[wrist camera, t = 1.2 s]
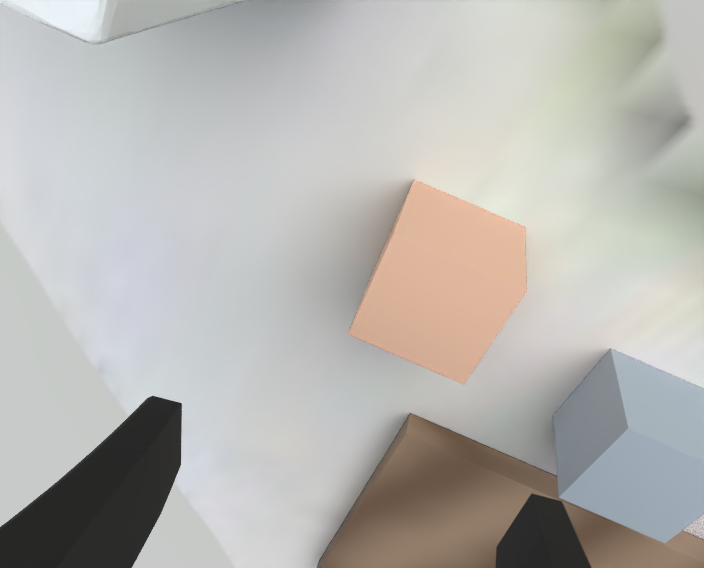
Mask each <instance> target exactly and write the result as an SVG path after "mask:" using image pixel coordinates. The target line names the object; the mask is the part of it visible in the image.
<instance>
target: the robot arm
mask: <svg viewBox="0 0 704 568" xmlns="http://www.w3.org/2000/svg"><path fill="white" fill-rule="evenodd" d="M181 417H182V403H178V402H175V401H171V400H167V399H163V398H159V397H155V396H151V397H149V398H147V399H146V400H145V401H144V402H143V403H142V404H141V405H140V406H139V407H138V408H137V409H136V410H135V411H134V412H133V413H132V414H131V415H130V416H129V417H128V418H127V419H126V420H125V421H124V422H123V423H122V424H121V425H120V426H119V427H118V428H117V429H116V430H115V431H114V432H113V433H112V434H111V435H109V436H108V437H107V438H106V439H105V440H104V441H103V442H102V443H101V444H100V445H99V446H98V447H96V448H95V449H94V450H93V451H92V452H91V453H90V454H89V455H87V456H86V457H85V458H84V459H83V460H82V461H81V462H79V463H78V464H77V465H76V466H75V467H74V468H73V469H71V471H69V472H68V473H67V474H66V475H65V476H63V477H62V478H61V479H60V480H59V481H58V482H57V483H55V484H54V485H53V486H52V487H50V488H49V489H48V490H47V491H45V492H44V493H43V494H42V495H40V496H39V497H38V498H37V499H36V500H34V501H33V502H32V503H30V504H29V505H28V506H27V507H26V508H24V509H23V510H22V511H20V512H19V513H18V514H17V515H15V516H14V517H13V518H12V519H10V520H9V521H8V522H7V523H5V524H4V525H2V526H1V527H0V568H132V566H133V564H134V562H135V561H136V559H137V557H138V555H139V553H140V551H141V549H142V547H143V546H144V544H145V542H146V540H147V538H148V537H149V534H150V533H151V531H152V529H153V527H154V525H155V523H156V522H157V520H158V518H159V516H160V514H161V512H162V509H163V507H164V504H165V502H166V500H167V497H168V495H169V493H170V490H171V488H172V485H173V483H174V480H175V478H176V476H177V473H178V471H179V468H180V466H181ZM496 568H592V567H591V565H590V563H589V560H588V558H587V556H586V554H585V552H584V549H583V547H582V545H581V543H580V540H579V538H578V536H577V534H576V531H575V529H574V527H573V524H572V522H571V520H570V518H569V515H568V513H567V511H566V509H565V506H564V504H563V503H562V501H559V500H555V499H551V498H547V497H544V496H540V495H536V494H532V493H531V495H530V496H529V498H528V499H527V501H526V502H525V504H524V505H523V507H522V509H521V510H520V512H519V513H518V515H517V516H516V518H515V519H514V521H513V522H512V524H511V525H510V527H509V528H508V530H507V531H506V533H505V535H504V536H503V538H502V539H501V541H500V542H499V544H498V545H497V548H496Z"/></svg>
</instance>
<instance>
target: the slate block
mask: <svg viewBox="0 0 704 568" xmlns="http://www.w3.org/2000/svg"><path fill="white" fill-rule="evenodd" d="M553 427H554V440H555V453H556V467H557V480H558V493H559V498H561V499H564V500H566V501H568V502H571V503H573V504H575V505H577V506H580V507H582V508H584V509H587V510H589V511H591V512H594V513H596V514H598V515H601V516H603V517H605V518H607V519H610V520H612V521H614V522H617V523H619V524H621V525H624V526H626V527H628V528H631V529H633V530H635V531H637V532H640V533H642V534H644V535H647V536H649V537H651V538H654V539H656V540H658V541H661V542H663V543H666V542H667V541H669V540H670V539H671V538H673V537H674V536H675V535H677V534H678V533H679V532H681V531H682V530H683V529H685V528H686V527H687V526H689V525H690V524H691V523H693V522H694V521H695V520H697V519H698V518H699V517H701V516H702V515H703V514H704V388H702V387H699V386H697V385H695V384H692V383H690V382H688V381H686V380H683V379H681V378H679V377H676V376H674V375H672V374H669V373H667V372H665V371H662V370H660V369H658V368H655V367H653V366H651V365H648V364H646V363H644V362H641V361H639V360H637V359H634V358H632V357H630V356H628V355H625V354H623V353H621V352H618V351H616V350H614V349H610V350H609V351H608V352H607V353H606V355H605V356H604V357H603V358H602V359H601V360H600V361H599V363H598V364H597V365H596V366H595V367H594V368H593V370H592V371H591V372H590V373H589V374H588V375H587V377H586V378H585V379H584V380H583V381H582V382H581V384H580V385H579V386H578V387H577V388H576V389H575V391H574V392H573V393H572V394H571V395H570V396H569V397H568V399H567V400H566V401H565V402H564V403H563V404H562V406H561V407H560V408H559V409H558V410H557V411H556V413H555V414H554V415H553Z"/></svg>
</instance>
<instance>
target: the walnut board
mask: <svg viewBox="0 0 704 568" xmlns="http://www.w3.org/2000/svg"><path fill="white" fill-rule="evenodd" d="M531 493H532V494H536V495H540V496H544V497H547V498H551V499H555V500H559V501H562V503H563V504H564V506H565V509H566V511H567V513H568V515H569V518H570V520H571V522H572V524H573V527H574V529H575V531H576V534H577V536H578V538H579V540H580V543H581V545H582V547H583V549H584V552H585V554H586V556H587V558H588V560H589V563H590V565H591V567H592V568H704V540H703V539H700V538H698V537H696V536H693V535H691V534H689V533H686V532H684V531H681V532H679V533H678V534H677V535H675V536H674V537H673V538H671V539H670V540H669V541H667V542H666V543H663V542H661V541H658V540H656V539H654V538H651V537H649V536H647V535H644V534H642V533H640V532H637V531H635V530H633V529H631V528H628V527H626V526H624V525H621V524H619V523H617V522H614V521H612V520H610V519H607V518H605V517H603V516H601V515H598V514H596V513H594V512H591V511H589V510H587V509H584V508H582V507H580V506H577V505H575V504H573V503H571V502H568V501H566V500H564V499H561V498H559V493H558V480H557V476H554V475H552V474H550V473H547V472H545V471H543V470H541V469H538V468H536V467H534V466H531V465H529V464H527V463H524V462H522V461H520V460H517V459H515V458H513V457H510V456H508V455H506V454H503V453H501V452H499V451H497V450H494V449H492V448H490V447H487V446H485V445H483V444H480V443H478V442H476V441H473V440H471V439H469V438H466V437H464V436H462V435H459V434H457V433H455V432H453V431H450V430H448V429H446V428H443V427H441V426H439V425H436V424H434V423H432V422H429V421H427V420H425V419H422V418H420V417H418V416H415V415H413V414H411V413H410V415H409V416H408V418H407V420H406V421H405V423H404V424H403V426H402V428H401V429H400V431H399V432H398V434H397V436H396V437H395V439H394V441H393V442H392V444H391V445H390V447H389V449H388V450H387V452H386V454H385V455H384V457H383V458H382V460H381V462H380V463H379V465H378V466H377V468H376V470H375V471H374V473H373V475H372V476H371V478H370V479H369V481H368V483H367V484H366V486H365V488H364V489H363V491H362V492H361V494H360V496H359V497H358V499H357V500H356V502H355V504H354V505H353V507H352V509H351V510H350V512H349V513H348V515H347V517H346V518H345V520H344V522H343V523H342V525H341V526H340V528H339V530H338V531H337V533H336V534H335V536H334V538H333V539H332V541H331V543H330V544H329V546H328V547H327V549H326V551H325V552H324V554H323V556H322V557H321V559H320V560H319V562H318V565H317V568H496V548H497V545H498V544H499V542H500V541H501V539H502V538H503V536H504V535H505V533H506V531H507V530H508V528H509V527H510V525H511V524H512V522H513V521H514V519H515V518H516V516H517V515H518V513H519V512H520V510H521V509H522V507H523V505H524V504H525V502H526V501H527V499H528V498H529V496H530V495H531Z"/></svg>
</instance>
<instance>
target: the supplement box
mask: <svg viewBox="0 0 704 568" xmlns="http://www.w3.org/2000/svg"><path fill="white" fill-rule="evenodd" d="M242 1H245V0H0V4H2V5H5V6H7V7H9V8H11V9H13V10H15V11H17V12H20V13H22V14H24V15H26V16H28V17H30V18H32V19H34V20H36V21H38V22H41V23H43V24H45V25H48V26H50V27H52V28H54V29H57V30H59V31H61V32H63V33H66V34H68V35H70V36H72V37H75V38H77V39H80V40H82V41H84V42H87V43H91V44H102V43H106V42H109V41H111V40H114V39H118V38H121V37H124V36H127V35H131V34H135V33H138V32H141V31H144V30H147V29H150V28H154V27H157V26H160V25H164V24H167V23H171V22H174V21H178V20H182V19H185V18H188V17H191V16H195V15H198V14H200V13H204V12H207V11H210V10H213V9H218V8H223V7H225V6H228V5H230V4H234V3H238V2H242Z"/></svg>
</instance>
